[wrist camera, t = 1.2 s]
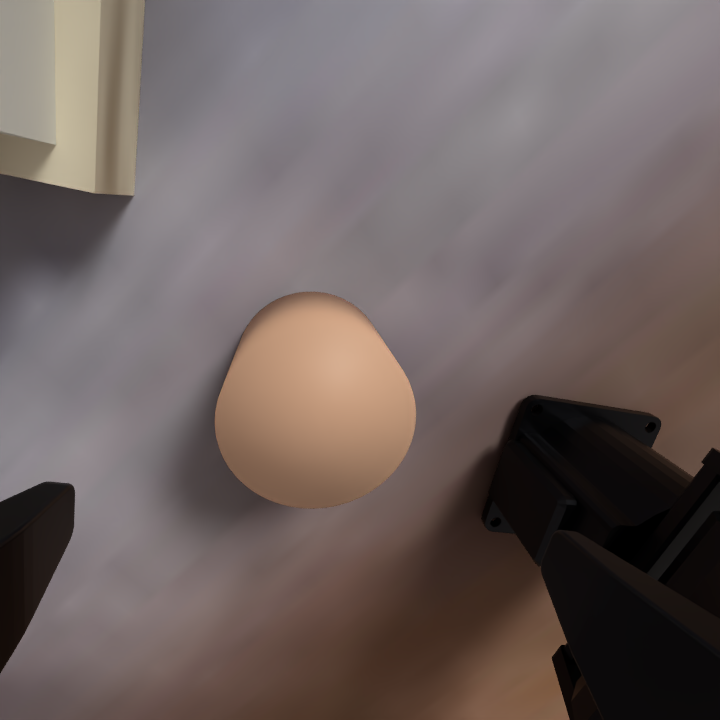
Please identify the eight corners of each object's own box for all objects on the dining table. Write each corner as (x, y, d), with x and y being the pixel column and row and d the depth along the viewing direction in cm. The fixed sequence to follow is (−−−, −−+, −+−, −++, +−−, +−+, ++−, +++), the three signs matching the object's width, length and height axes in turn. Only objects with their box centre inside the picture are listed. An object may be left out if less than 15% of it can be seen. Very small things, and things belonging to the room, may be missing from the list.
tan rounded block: (396, 306, 16) (438, 346, 12) (365, 435, 18) (390, 516, 13) (248, 278, 15) (228, 309, 11) (228, 418, 17) (203, 498, 12)
